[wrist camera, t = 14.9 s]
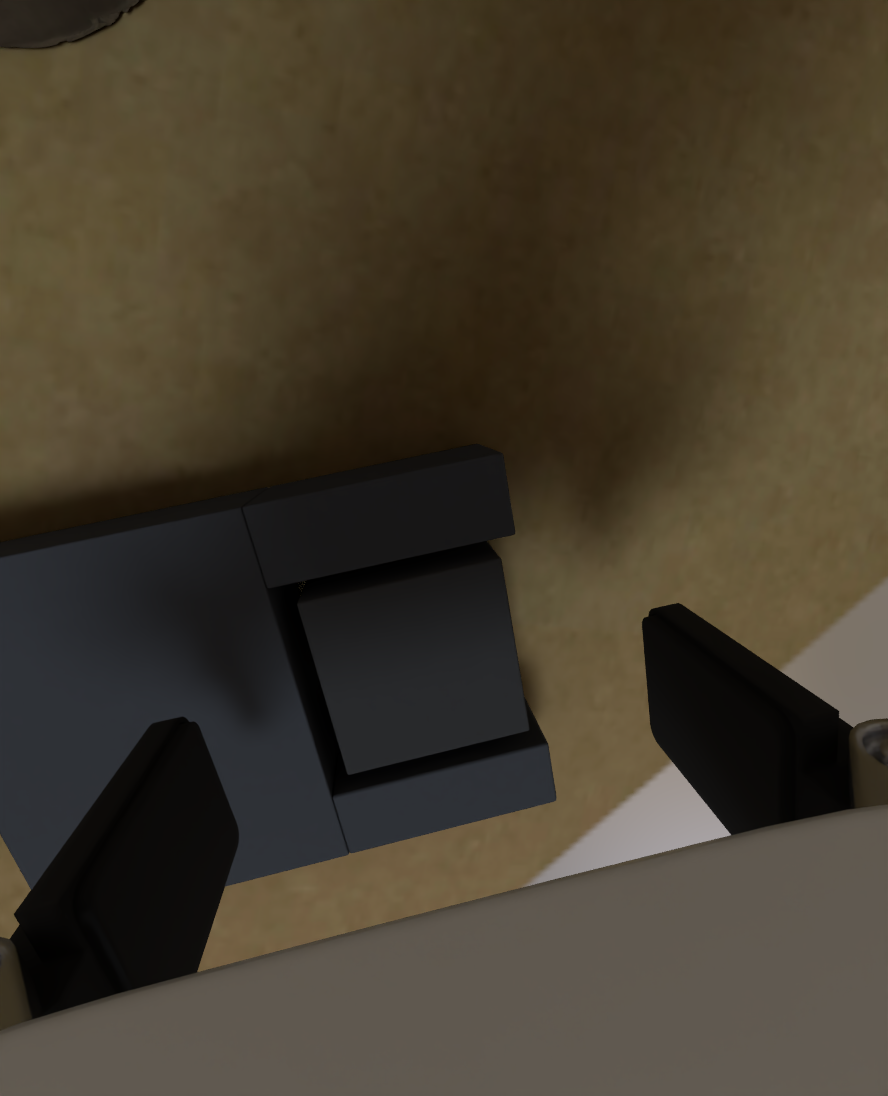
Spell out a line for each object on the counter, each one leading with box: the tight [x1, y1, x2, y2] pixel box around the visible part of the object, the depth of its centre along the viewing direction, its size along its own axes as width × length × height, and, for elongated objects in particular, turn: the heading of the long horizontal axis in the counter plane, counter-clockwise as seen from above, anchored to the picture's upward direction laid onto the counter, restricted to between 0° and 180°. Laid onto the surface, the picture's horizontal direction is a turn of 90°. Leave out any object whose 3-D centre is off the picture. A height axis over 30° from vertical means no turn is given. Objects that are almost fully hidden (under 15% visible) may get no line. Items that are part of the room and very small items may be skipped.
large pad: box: [0, 444, 556, 890], centre depth 14 cm, size 14×10×3 cm
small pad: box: [297, 541, 529, 775], centre depth 14 cm, size 5×5×3 cm
